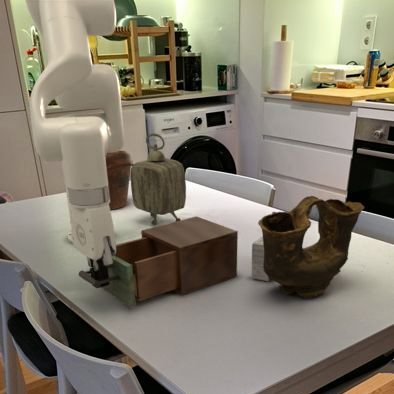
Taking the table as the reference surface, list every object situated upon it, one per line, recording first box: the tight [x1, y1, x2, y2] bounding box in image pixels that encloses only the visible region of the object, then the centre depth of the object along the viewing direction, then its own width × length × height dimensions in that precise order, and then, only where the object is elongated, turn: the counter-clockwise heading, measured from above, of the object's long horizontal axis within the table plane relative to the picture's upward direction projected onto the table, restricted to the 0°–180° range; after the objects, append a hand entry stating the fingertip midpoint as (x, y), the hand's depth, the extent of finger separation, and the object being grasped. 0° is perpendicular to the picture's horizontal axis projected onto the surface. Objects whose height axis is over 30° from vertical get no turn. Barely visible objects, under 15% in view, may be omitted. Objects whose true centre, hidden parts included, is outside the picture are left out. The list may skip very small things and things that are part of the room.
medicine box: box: [250, 236, 271, 282], centre depth 116 cm, size 8×4×9 cm, turn 148°
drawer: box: [78, 237, 179, 308], centre depth 108 cm, size 20×14×9 cm
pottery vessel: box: [257, 195, 365, 299], centre depth 106 cm, size 25×11×20 cm, turn 123°
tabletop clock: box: [130, 132, 187, 226], centre depth 147 cm, size 14×9×25 cm, turn 50°
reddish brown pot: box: [105, 150, 134, 210], centre depth 167 cm, size 18×20×18 cm
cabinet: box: [140, 215, 239, 297], centre depth 116 cm, size 16×15×11 cm
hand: (100, 285), depth 105 cm, fingers closed
